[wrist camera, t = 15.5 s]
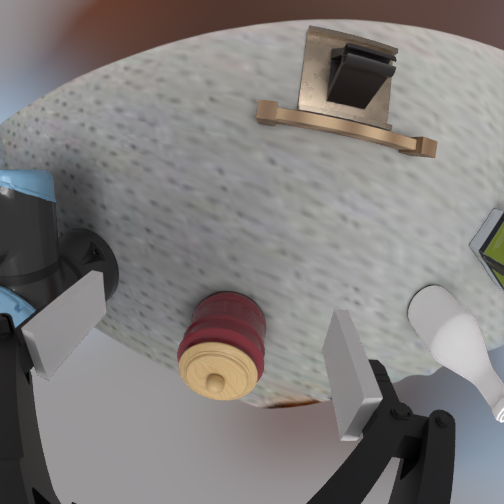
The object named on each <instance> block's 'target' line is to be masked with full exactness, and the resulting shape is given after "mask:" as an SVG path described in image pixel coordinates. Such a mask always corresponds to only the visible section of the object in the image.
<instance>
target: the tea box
mask: <svg viewBox="0 0 504 504" xmlns="http://www.w3.org/2000/svg"><path fill="white" fill-rule="evenodd" d="M469 246H470V248H471V249H472V250H473V252H474V253H475V254H476V256H477V257H478V259H479V260H480V262H481V263H482V264H483V266H484V267H485V269H486V270H487V272H488V273H489V275H490V276H491V278H492V280H493V281H494V283H495V284H496V286H498V287H499V288H500V289H502V290H503V291H504V211H501V210H498V209H493V210H492V212H491V213H490V215H489V217H488V218H487V220H486V221H485V223H484V224H483V226H482V227H481V229H480V230H479V231H478V233H477V234H476V236H475V237H474V239H473V240H472V242H471V243H470V245H469Z"/></svg>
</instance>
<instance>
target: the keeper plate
mask: <svg viewBox="0 0 504 504" xmlns="http://www.w3.org/2000/svg"><path fill="white" fill-rule="evenodd" d="M347 42H348V43H352V44H356V45H359V46H363V47H367V48H370V49H374V50H377V51H380V52H383V53H387V54H390V55H393V56H394V55H396V54H397V53H398V49H397V48H394V47H391V46H388V45H385V44H382V43H379V42H376V41H373V40H369V39H366V38H362V37H359V36H355V35H351V34H347V33H343V32H339V31H334V30H330V29H325V28H320V27H315V26H309V28H308V31H307V38H306V46H305V55H304V63H303V71H302V79H301V86H300V94H299V102H298V109H297V111H301V112H307V113H312V114H317V115H323V116H328V117H332V118H337V119H342V120H346V121H350V122H355V123H359V124H363V125H367V126H371V127H374V128H378V129H382V130H385V131H390V130H391V129H392V125H389V124H387V119H388V110H389V101H390V90H391V77H390V78H388V79H387V80H386V81H385V82H384V83H383V85H382V86H381V88H380V89H379V90H378V92H377V93H376V94H375V96H374V97H373V99H372V100H371V101H370V103H369V104H368V105H367V107H366V108H365V109H361V108H357V107H352V106H348V105H344V104H339V103H335V102H330V101H326V98H327V89H328V80H329V71H330V61H331V51H332V49H333V48H343V47H344V46H345V45H346V43H347ZM389 65H391V66H392V60H390V62H389Z"/></svg>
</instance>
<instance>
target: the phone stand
mask: <svg viewBox="0 0 504 504" xmlns="http://www.w3.org/2000/svg"><path fill="white" fill-rule="evenodd" d="M390 60H392V61H395V62H396V57H395V56H393V55H390V54H387V53H383V52H380V51H377V50H374V49H370V48H367V47H363V46H359V45H356V44H352V43H348V42H347V43H346V45H345V46H344V47H343V48H333V49H332V51H331V61H330V71H329V80H328V89H327V98H326V101H330V102H335V103H339V104H344V105H348V106H352V107H357V108H361V109H365V108H366V107H367V105H368V104H369V103H370V101H371V100H372V99H373V97H374V96H375V94H376V93H377V92H378V90H379V89H380V88H381V86H382V85H383V83H384V82H385V81H386V80H387V79H388V78H390V77H392V76H393V75H394V73H395V70H396V67H394V66H391V65H389V62H390Z"/></svg>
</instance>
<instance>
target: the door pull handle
mask: <svg viewBox="0 0 504 504" xmlns="http://www.w3.org/2000/svg"><path fill="white" fill-rule="evenodd" d="M277 107H278V102H274V101H267V100H258V108H257V115H256V119H257V121H258V123H259V124H263V125H271V126H275V123H277V124H284V125H290V126H297V127H302V128H308V129H314V130H319V131H324V132H329V133H334V134H339V135H343V136H348V137H352V138H357V139H361V140H365V141H369V142H373V143H377V144H381V145H385V146H388V147H392V148H395V149H399V152H400V153H403V154H407V155H410V156H419V157H430V158H435V155H436V148H437V141H434V140H432V139H429V138H426V137H406V136H403V135H399V134H396V133H392V132H389V131H385V130H382V129H378V128H374V127H371V126H367V125H363V124H359V123H355V122H350V121H346V120H342V119H337V118H332V117H328V116H323V115H317V114H312V113H307V112H301V111H295V110H289V109H282V108H277Z"/></svg>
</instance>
